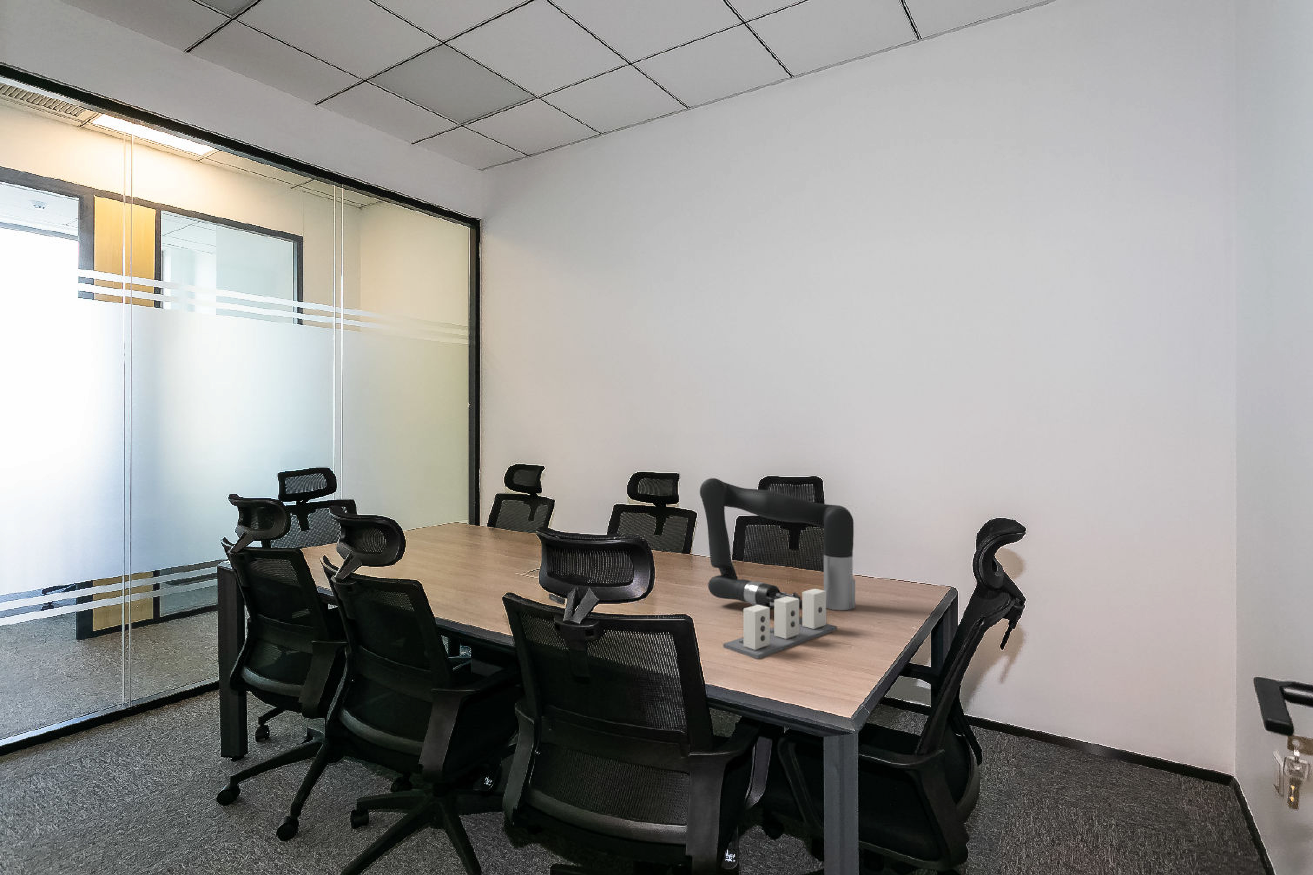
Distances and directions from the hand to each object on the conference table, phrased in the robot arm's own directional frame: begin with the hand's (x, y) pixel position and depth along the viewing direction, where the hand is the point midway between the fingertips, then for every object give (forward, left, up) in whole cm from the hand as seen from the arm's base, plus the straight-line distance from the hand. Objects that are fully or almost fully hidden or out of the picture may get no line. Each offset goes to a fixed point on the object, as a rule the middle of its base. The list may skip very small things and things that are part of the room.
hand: (807, 606), depth 194 cm
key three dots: (+21, +15, -5) cm, 27 cm away
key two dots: (+10, +9, -5) cm, 14 cm away
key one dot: (-1, +2, -5) cm, 6 cm away
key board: (+11, +7, -6) cm, 15 cm away
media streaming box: (+66, -48, -7) cm, 82 cm away
